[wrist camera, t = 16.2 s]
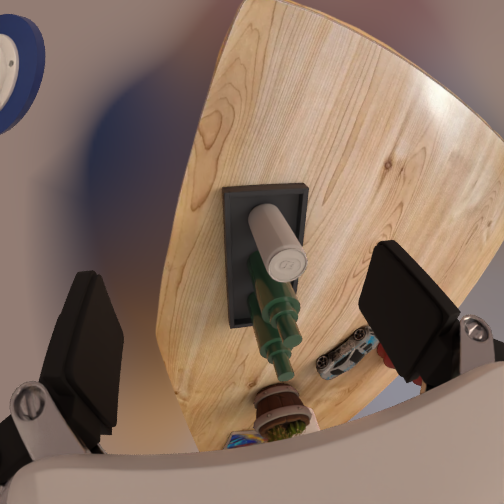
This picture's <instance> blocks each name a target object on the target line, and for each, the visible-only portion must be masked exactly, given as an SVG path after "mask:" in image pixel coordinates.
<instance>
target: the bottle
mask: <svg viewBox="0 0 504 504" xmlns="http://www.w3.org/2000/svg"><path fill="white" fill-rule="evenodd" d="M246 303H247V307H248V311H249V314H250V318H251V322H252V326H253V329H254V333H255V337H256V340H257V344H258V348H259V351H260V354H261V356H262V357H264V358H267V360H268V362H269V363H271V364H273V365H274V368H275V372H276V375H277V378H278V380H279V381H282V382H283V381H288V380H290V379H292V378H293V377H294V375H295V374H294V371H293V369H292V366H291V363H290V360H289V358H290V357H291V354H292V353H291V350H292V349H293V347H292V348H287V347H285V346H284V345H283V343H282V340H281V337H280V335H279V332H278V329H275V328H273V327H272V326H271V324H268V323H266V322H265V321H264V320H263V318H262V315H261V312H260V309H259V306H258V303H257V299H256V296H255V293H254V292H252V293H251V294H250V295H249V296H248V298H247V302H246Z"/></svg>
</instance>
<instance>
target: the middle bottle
mask: <svg viewBox="0 0 504 504" xmlns="http://www.w3.org/2000/svg"><path fill="white" fill-rule="evenodd" d="M246 266H247V270H248V273H249V276H250V280H251V283H252V286H253V290H254V293H255V296H256V299H257V303H258V306H259V309H260V312H261V315H262V318H263V320H264V321H265V322H266V323H268V324H271V326H272V327H273V328H275V329H278V332H279V335H280V337H281V340H282V343H283V345H284V346H285V347H287V348H292V347H295V346H297V345H299V344H300V343H301V342H302V336H301V334H300V331H299V329H298V326H297V324H296V322H297V320H298V313H299V311H300V303H299V301H298V299H297V296H296V294H295V292H294V290H293V288H292V286H291V283H290V282H278V281H276V280H274V279H272V277H271V276H270V275H269V274H268V272H267V270H266V268H265V265H264V263H263V260H262V257H261V255H260V252H259V250H257V251H255V252H254V253H252V254H251V255H250V256H249V258H248V260H247V263H246Z"/></svg>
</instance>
